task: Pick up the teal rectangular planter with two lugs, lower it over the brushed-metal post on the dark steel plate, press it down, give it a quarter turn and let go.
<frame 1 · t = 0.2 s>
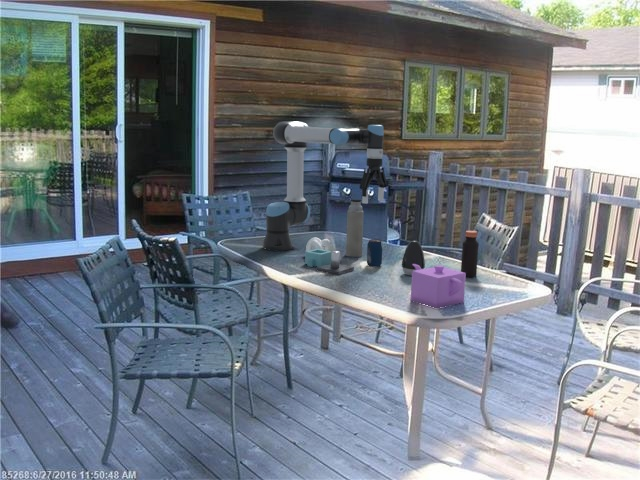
hand: (372, 202, 313), 28 cm above the table, tool pointing down, fingers open, 13 cm apart
white coiled rope: (316, 256, 319), on the table
soda can: (374, 266, 302), on the table
post base: (335, 270, 291), on the table
black water bottle: (468, 276, 286), on the table
teal rectangular planter: (318, 264, 302), on the table
thermos bottle: (353, 255, 324), on the table
teapot: (434, 301, 246), on the table
egg shaped speaker: (412, 274, 287), on the table
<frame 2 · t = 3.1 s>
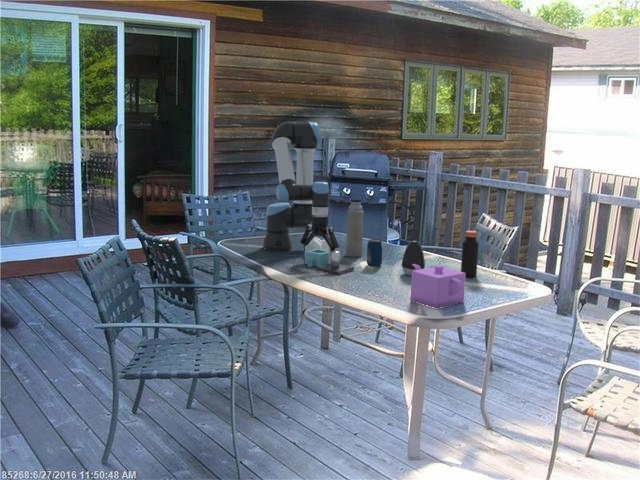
hand: (318, 261, 302), 1 cm above the table, tool pointing down, fingers open, 13 cm apart
nothing on the table moved.
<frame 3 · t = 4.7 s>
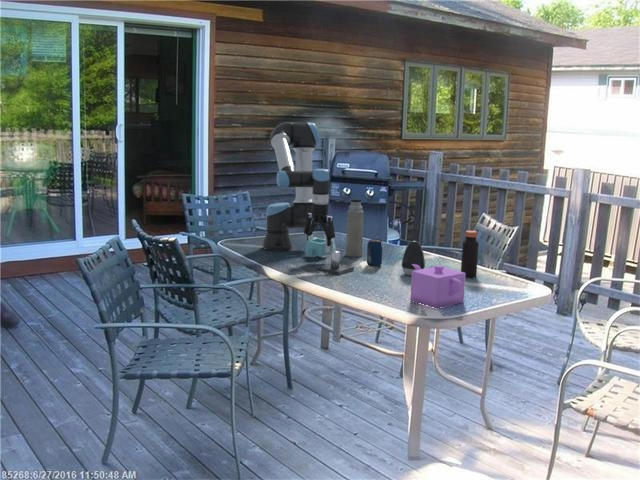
hand: (318, 250, 302), 6 cm above the table, tool pointing down, fingers closed on teal rectangular planter, 9 cm apart
teal rectangular planter: (318, 253, 302), point 5 cm above the table, touching gripper
everything else where it was.
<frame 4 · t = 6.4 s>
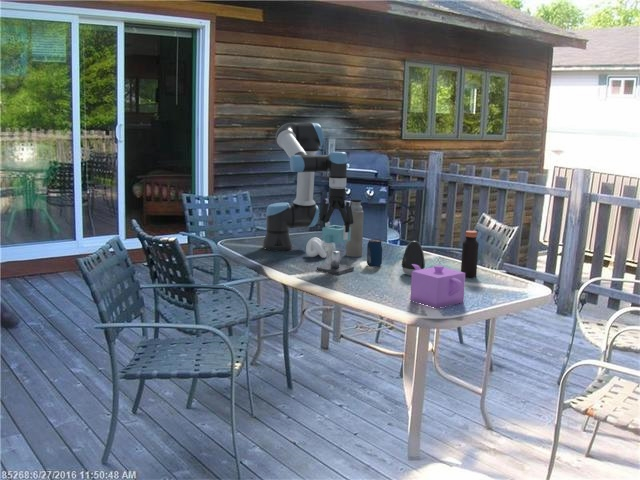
hand: (336, 238, 288), 15 cm above the table, tool pointing down, fingers closed on teal rectangular planter, 9 cm apart
teal rectangular planter: (336, 240, 288), point 14 cm above the table, touching gripper
everything else where it was.
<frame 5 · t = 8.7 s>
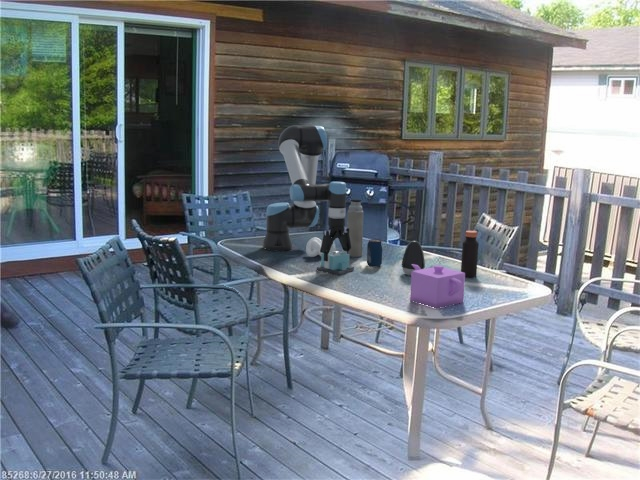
hand: (335, 266, 291), 2 cm above the table, tool pointing down, fingers closed on teal rectangular planter, 9 cm apart
teal rectangular planter: (335, 266, 291), point 2 cm above the table, touching gripper
everything else where it was.
when the fingers open (2 cm above the table, at t = 9.9 s): teal rectangular planter stays where it is, resting on post base.
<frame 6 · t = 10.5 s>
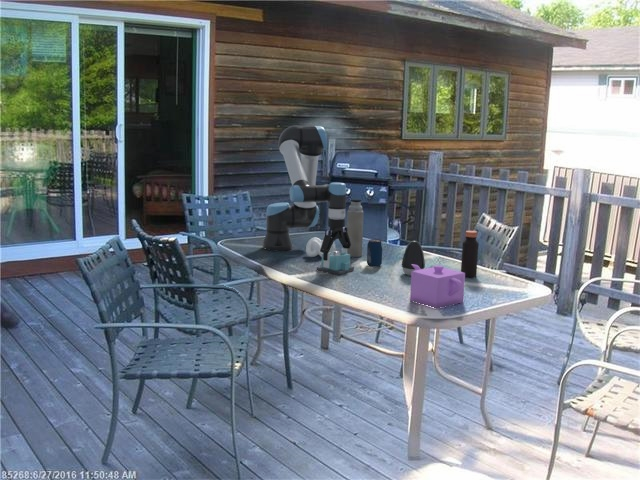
hand: (335, 264, 290), 3 cm above the table, tool pointing down, fingers open, 13 cm apart
teal rectangular planter: (335, 267, 291), point 1 cm above the table, touching post base
everything else where it was.
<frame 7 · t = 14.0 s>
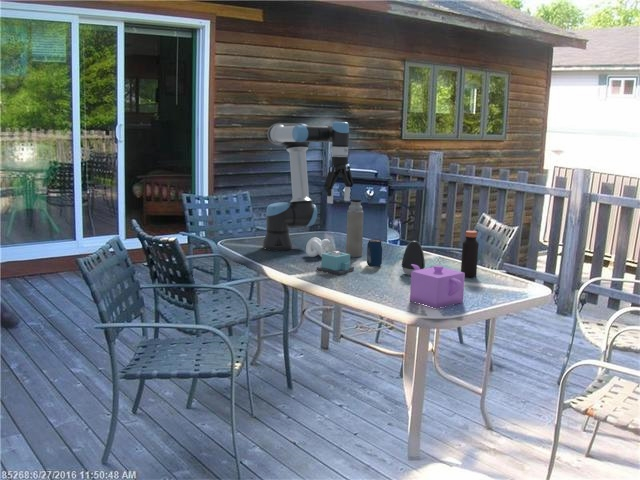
hand: (338, 202, 302), 29 cm above the table, tool pointing down, fingers open, 13 cm apart
nothing on the table moved.
at the end: teal rectangular planter 0.2 cm from the post base (horizontally); teal rectangular planter point 1.5 cm above the table; the gripper is holding nothing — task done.
